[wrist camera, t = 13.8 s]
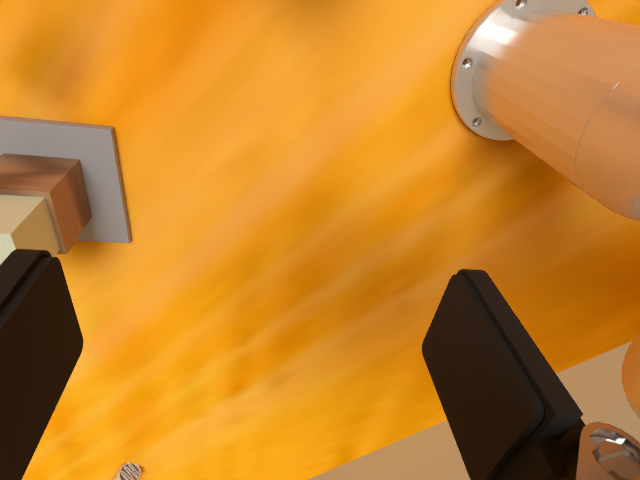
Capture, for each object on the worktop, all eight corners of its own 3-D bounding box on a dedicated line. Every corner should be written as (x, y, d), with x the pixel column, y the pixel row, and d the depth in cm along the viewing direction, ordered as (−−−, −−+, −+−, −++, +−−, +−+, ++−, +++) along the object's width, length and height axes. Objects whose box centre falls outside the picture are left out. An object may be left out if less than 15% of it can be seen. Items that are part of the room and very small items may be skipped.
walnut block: (79, 159, 35) (49, 192, 30) (92, 216, 39) (66, 254, 34) (4, 153, 34) (-40, 186, 29) (23, 212, 38) (-13, 250, 33)
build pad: (113, 126, 35) (110, 129, 34) (131, 238, 41) (129, 243, 41) (-43, 111, 33) (-50, 115, 32) (2, 231, 39) (-2, 236, 39)
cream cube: (44, 197, 30) (10, 234, 26) (60, 249, 33) (31, 289, 29) (-29, 192, 30) (-76, 230, 26) (-7, 246, 33) (-46, 287, 28)
